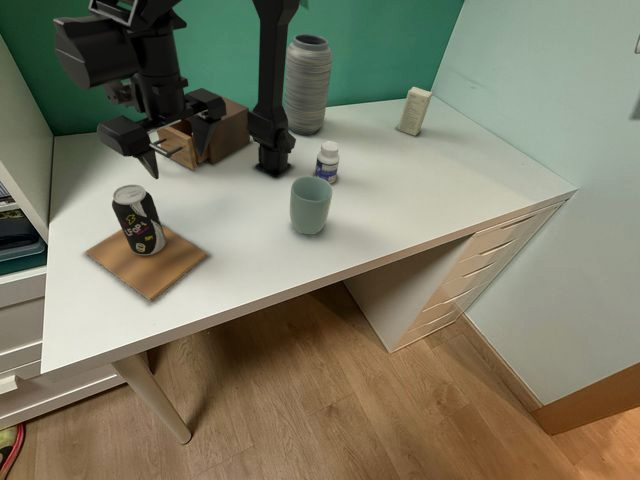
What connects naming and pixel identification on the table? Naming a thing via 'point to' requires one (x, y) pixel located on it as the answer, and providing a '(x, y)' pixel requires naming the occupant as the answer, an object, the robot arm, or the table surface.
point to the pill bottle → (327, 161)
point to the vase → (307, 82)
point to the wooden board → (147, 262)
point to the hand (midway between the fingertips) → (179, 166)
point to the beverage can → (138, 219)
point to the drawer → (179, 144)
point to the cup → (310, 204)
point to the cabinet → (229, 132)
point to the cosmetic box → (414, 110)
